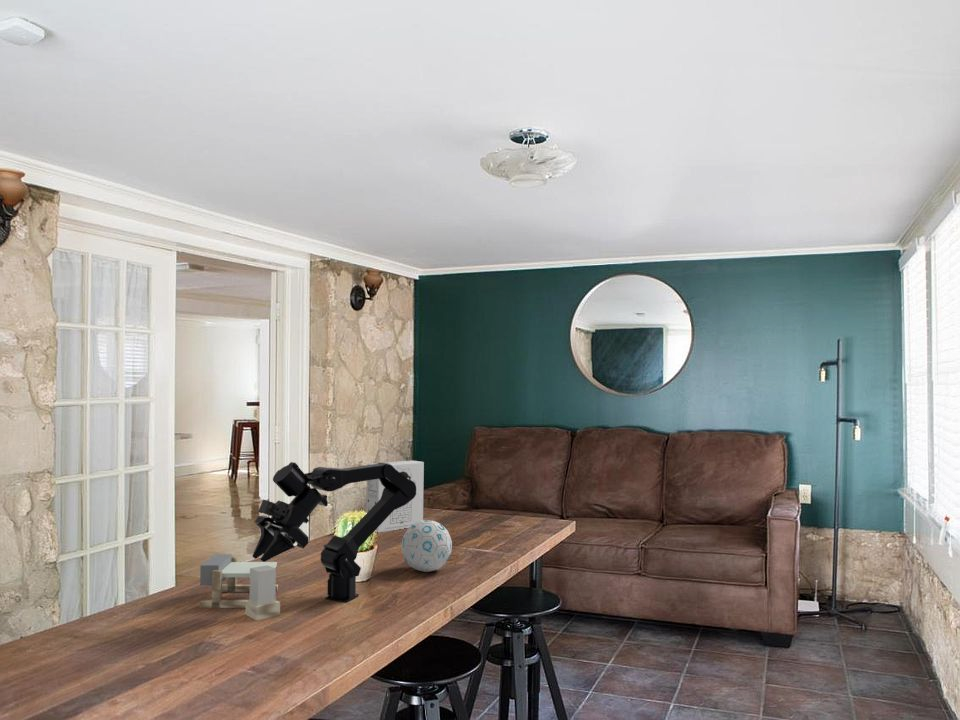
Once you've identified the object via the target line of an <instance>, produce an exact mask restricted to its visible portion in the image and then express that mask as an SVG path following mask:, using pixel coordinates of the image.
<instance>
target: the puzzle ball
mask: <svg viewBox="0 0 960 720" xmlns="http://www.w3.org/2000/svg"><path fill="white" fill-rule="evenodd" d="M452 549H453V541H452V538H451V535H450V532H449V531H448V530H447V528H446V527H445V526H444V525H443V524H441V523H439V522H438V521H435V520H430V519H429V520H428V519H423V521H419V522H417V523H415V524H413V525H412V526H410V527H409V528H407V529H406V531H405V533H403V536H402V540H401V553H402V556H403V559H404V560H405V563H407V564H408V565H409V566H410V567H411V568H412V569H415V570H417V571H419V572H423V573H429V572H433V571H437V570H438V569H440V568H442V567H443V566H444V565H446V563H447V562H448V560H449V558H450V556H451V554H452Z"/></svg>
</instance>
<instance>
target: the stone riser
mask: <svg viewBox="0 0 960 720" xmlns="http://www.w3.org/2000/svg"><path fill="white" fill-rule="evenodd" d="M244 611H245V613H244V614H245V616H247V617H249V618H251V619H252V620H255V621H261V620H262V621H263V620H266V619H270V618H275V617H280V616H281V602H280V601H278V600H277V599H275V602H274V603H269V604H264V605H259V606H257V605H255V604H253V603H251V602H249V601H246V607H245V609H244Z"/></svg>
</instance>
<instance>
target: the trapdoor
mask: <svg viewBox="0 0 960 720" xmlns="http://www.w3.org/2000/svg"><path fill="white" fill-rule="evenodd" d="M267 565H268V566H270V567H272V568H275V569H276V567H277V566H278V562H277V561H265V562H262V561H237V562H232V554H231V553H229V554H227V553H226V554H223V553H222V554H216V553H215V554H213V555H212V556H211V557H209V558H207V560H206V561H204V562H202V564H200V569H199V571H200V572H199V573H200V574H199V575H200V577H199V578H200V579H199V580H200V581H199V586H212V571H213V570H222V583H223V582H224V581H225V580H226V579H228V577H237V578H250V568H254V567H260V566H267Z"/></svg>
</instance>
